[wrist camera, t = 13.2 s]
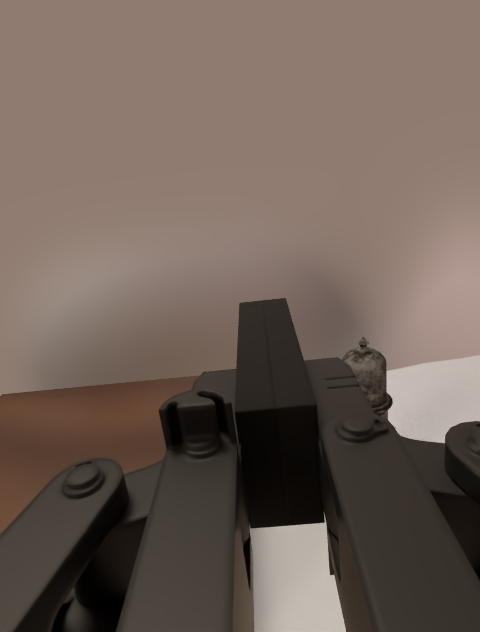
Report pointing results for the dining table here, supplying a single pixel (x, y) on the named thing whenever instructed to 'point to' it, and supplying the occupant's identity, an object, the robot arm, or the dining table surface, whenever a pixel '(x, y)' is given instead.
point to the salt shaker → (370, 376)
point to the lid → (78, 433)
